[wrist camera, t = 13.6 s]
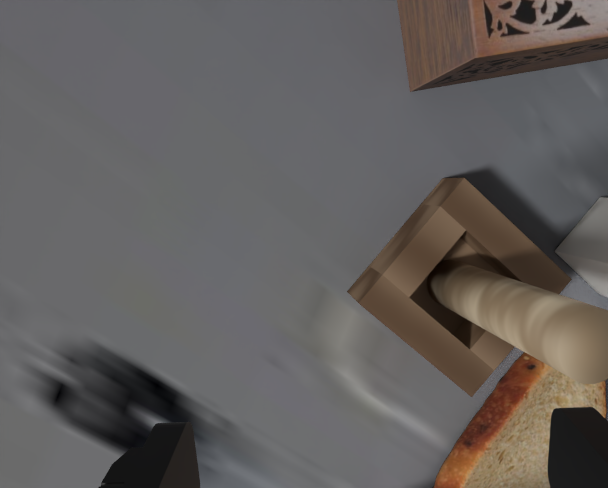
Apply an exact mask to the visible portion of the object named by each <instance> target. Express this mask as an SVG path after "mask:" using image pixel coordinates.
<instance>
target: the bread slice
mask: <svg viewBox="0 0 608 488" xmlns="http://www.w3.org/2000/svg"><path fill="white" fill-rule="evenodd" d="M573 407H593V408H595V409H596V410H597V411H598V412H599V413H600V414H601V415H602V416H603V417H604V418H606V412H607V408H606V384H605V381H603V382H600V383H596V384H583V383H580V382H577V381H575V380H573V379H571V378H570V377H568V376H566V375H564V374H563V373H561V372H559V371H557V370H555V369H554V368H552V367H550V366H548V365H547V364H545V363H543V362H541V361H540V360H538V359H536V358H534V357H533V356H531V355H529V354H527V353H525V352H524V353H523V354H522V355H521V356H520V357H519V358H518V359H517V360H516V361H515V362H514V363H513V364H512V366H511V367H510V369H509V370H508V372H507V373H506V374H505V375H504V376H503V377H502V378H501V379H500V381H499V382H498V384H497V386H496V388H495V389H494V391H493V392H492V393H491V395H490V396H489V397H488V398H487V399H486V401H485V402H484V404H483V406H482V407H481V409H480V410H479V411H478V412H477V413H476V415H475V416H474V417H473V419H472V420H471V422H470V423H469V424H468V426H467V427H466V429H465V431H464V432H463V433H462V435H461V436H460V438H459V439H458V440H457V442H456V443H455V445H454V447H453V449H452V451H451V452H450V454H449V455H448V457H447V458H446V460H445V461H444V463H443V464H442V466H441V468H440V470H439V473H438V475H437V477H436V481H435V485H434V487H433V488H550V484H549V480H548V453H549V439H550V424H551V415H552V412H553V410H554V409H556V408H573Z"/></svg>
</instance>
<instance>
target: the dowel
mask: <svg viewBox="0 0 608 488" xmlns="http://www.w3.org/2000/svg"><path fill="white" fill-rule="evenodd" d="M427 289H428V292H429V294H430V296H431V297H432V299H433V300H434V301H436V302H437V303H439V304H441V305H442V306H444V307H446V308H448V309H449V310H451V311H453V312H455V313H457V314H458V315H460V316H462V317H464V318H465V319H467V320H469V321H471V322H472V323H474V324H476V325H478V326H480V327H481V328H483V329H485V330H487V331H488V332H490V333H492V334H494V335H495V336H497V337H499V338H501V339H502V340H504V341H506V342H508V343H510V344H511V345H513V346H515V347H517V348H518V349H520V350H522V351H524V352H525V353H527V354H529V355H531V356H533V357H534V358H536V359H538V360H540V361H541V362H543V363H545V364H547V365H548V366H550V367H552V368H554V369H555V370H557V371H559V372H561V373H563V374H564V375H566V376H568V377H570V378H571V379H573V380H575V381H577V382H580V383H583V384H596V383H600V382H603V381H605V380H607V379H608V310H605V309H602V308H599V307H596V306H593V305H590V304H587V303H584V302H581V301H578V300H575V299H572V298H569V297H566V296H562V295H559V294H556V293H553V292H550V291H547V290H544V289H541V288H538V287H535V286H532V285H529V284H526V283H523V282H520V281H517V280H514V279H511V278H508V277H505V276H502V275H499V274H496V273H493V272H490V271H487V270H484V269H481V268H478V267H475V266H472V265H469V264H466V263H463V262H460V261H457V260H444V261H442V262H440V263H438V264H437V265H436V266H435V268H434V269H433V270H432V271H431V272H430V273H429V276H428V279H427Z"/></svg>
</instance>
